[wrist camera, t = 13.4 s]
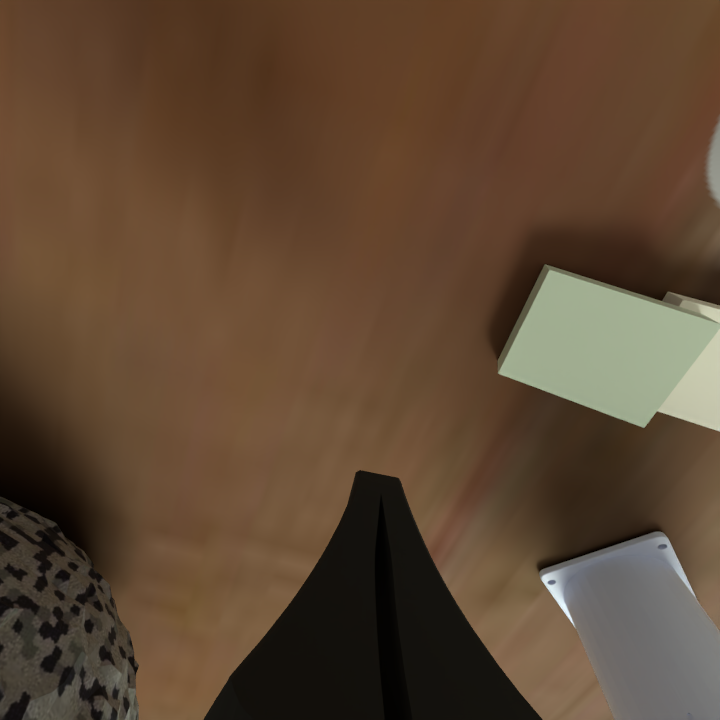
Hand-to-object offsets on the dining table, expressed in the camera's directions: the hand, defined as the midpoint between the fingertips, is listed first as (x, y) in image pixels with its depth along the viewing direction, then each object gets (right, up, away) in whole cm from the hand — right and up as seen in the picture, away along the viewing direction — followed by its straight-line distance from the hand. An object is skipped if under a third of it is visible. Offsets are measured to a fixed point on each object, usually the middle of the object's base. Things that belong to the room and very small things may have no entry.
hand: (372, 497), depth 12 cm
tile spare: (+7, +6, +5) cm, 11 cm away
